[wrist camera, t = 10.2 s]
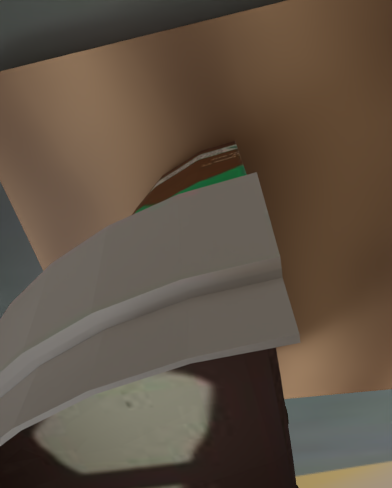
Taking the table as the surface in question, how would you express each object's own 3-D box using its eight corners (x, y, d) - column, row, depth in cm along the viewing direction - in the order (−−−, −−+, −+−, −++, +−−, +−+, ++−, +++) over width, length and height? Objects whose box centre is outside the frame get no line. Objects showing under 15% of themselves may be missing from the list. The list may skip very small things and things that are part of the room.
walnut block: (121, 383, 21) (112, 414, 19) (-12, 77, 13) (-47, 82, 11) (383, 355, 18) (400, 388, 17) (400, -24, 11) (435, -37, 9)
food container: (40, 133, 12) (-444, 386, 3) (227, 91, 11) (294, 271, 2) (144, 390, 18) (79, 735, 9) (273, 374, 17) (342, 736, 8)
